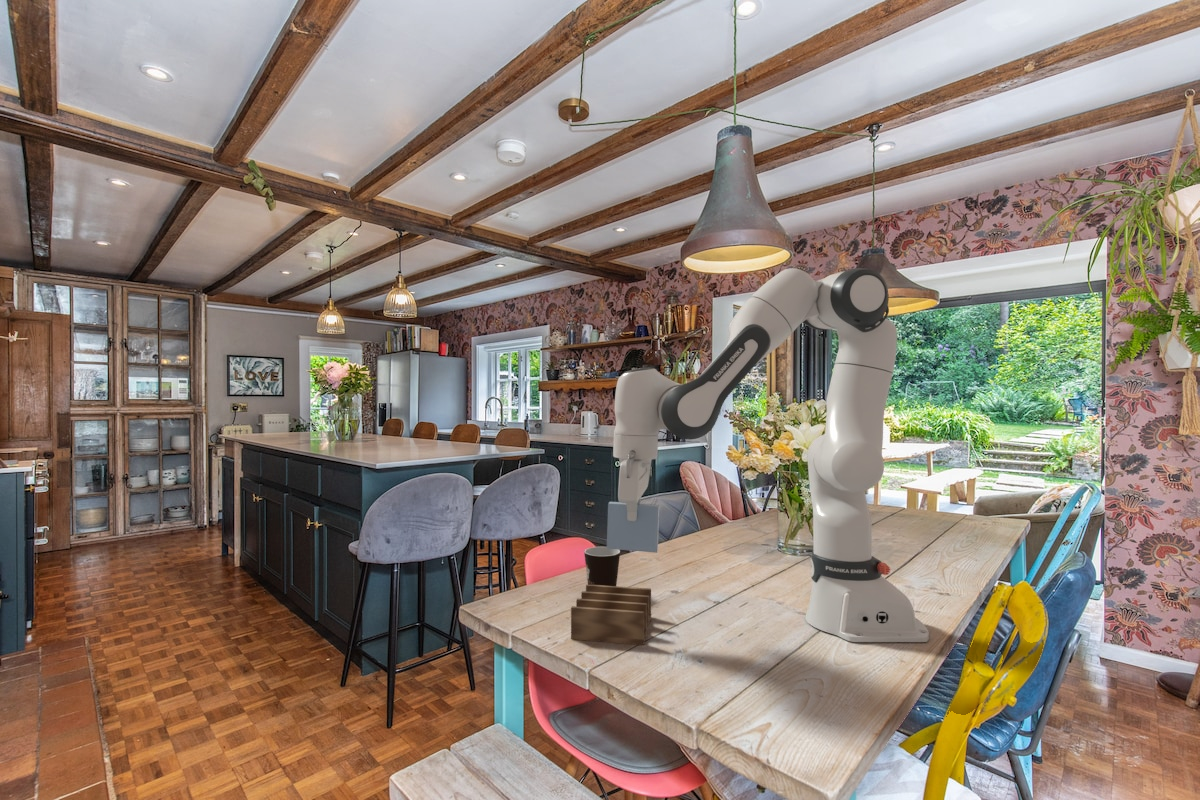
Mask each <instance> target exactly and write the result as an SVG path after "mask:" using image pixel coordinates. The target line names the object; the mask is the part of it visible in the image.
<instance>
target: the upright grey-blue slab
mask: <svg viewBox="0 0 1200 800" xmlns="http://www.w3.org/2000/svg"><path fill="white" fill-rule="evenodd" d="M659 519H660V504H652V503H650V504H649V503H640V504H638V503H637V519H636V521H629V520H628V519H627V505H626V503H620V502H619V501H609V502H608V504H607V529H606V530H607V531H606V547H607V549H618V550H620V551H631V552H632V551H633V552H645V553H658V551H659V524H660V521H659Z"/></svg>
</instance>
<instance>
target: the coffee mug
mask: <svg viewBox="0 0 1200 800" xmlns="http://www.w3.org/2000/svg"><path fill="white" fill-rule="evenodd" d="M583 551H584V562H585V568H586V570H585V571H586V579H587V584H588V585H604V586H617V583H618V573H619V565H620V556H621V550H618V549H607V546H593V547H588V548H586V549H585V550H583Z"/></svg>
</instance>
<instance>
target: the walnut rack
mask: <svg viewBox="0 0 1200 800" xmlns="http://www.w3.org/2000/svg"><path fill="white" fill-rule="evenodd" d="M580 594H581V598H576V601H575V602H576V606H571V607H570V639H571V640H577V639H578V640H580V641H589V640H590V641H591V642H603V643H604V642H605V643H613V644H614V643H616V644H625V645H626V644H627V645H638V646H644V645H645V642H646V641H645V640H646V637H647V633H648V630H649V626H650V622H651V618H652V588H649V587H647V588H645V587H631V586H630V587H629V586H618V585H616V586H604V585H588V583H587V584H586V585H585V591H584V590H582V591H581V593H580Z"/></svg>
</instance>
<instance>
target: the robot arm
mask: <svg viewBox="0 0 1200 800" xmlns="http://www.w3.org/2000/svg"><path fill="white" fill-rule="evenodd" d="M889 297H890V296H889V289H888V285H887V282H886V280H885V279H884V277H883V275H882V274H880V273H879V272H877V271H875V270H873V269H870V268H863V267H862V268H861V267H856V268H850V269H847V270H845V271H839V272H835V273H833V274H830V275H828V276H826V277H824V278H821V279H818V280H816V279H814V278H813V277H812V276H811V275H810V274H809V273H807V272H806V271H804V270H802V269H799V268H795V267H792V268H791V267H789V268H785V269H783V270H781V271H779V272H778V273H777V274H775V275H774V276H773V277H771V278H770V279H769V280H767V281H766V282H765V283H764V284H762V285H761V286H760V287H759V288H758V289H757V290H756V291H755V292H754V293H752V295H751V296H750V297H749V298H748V299H747V300H746V301H744V303H743V305H741V306H740V308H739V309H738V310H737V312H736V313H735V314H734V316H733V317H732V320H731V321H730V322H729V325H728V335H729V337H728V341H727V344H725V347H723V349H722V350H721V351H720V352H719V354H718V355H717V356H716V357H715V358H714V359H713V360H712V361H711V362H710V364H709V365H708V366H706V368H705V369H704V370H703V371H702V373H701V374H699V376H697V377H696V378H694V379H692V380H691V381H689V382H686V383H684V384H682V383H679V382H676V381H674V380H672V379H670V378H668V377H667V376H665V375H663V374H662V373H660V372H659V371H658V370H657V369H656V368H654V367H640V368H634V369H630V370H627V371H624V372H623V373H622V374H621V375H620V376H619V377H618V379H617V382H616V386H615V387H616V388H615V394H614V395H615V396H614V416H615V427H614V430H613V443H612V446H613V447H612V448H613V449H612V450H613V452H612V457H613V458H616V459H618V460H619V461H618V465H619V466H620V467H619V473H618V474H619V475H618V489H617V490H618V491H617V498H618V502H620V503H626V505H627V519H628V520H629V521H636V519H637V503H638V504H641V501H642V496H643V495H644V493H645V492H646V490H647V489H648V486H649V483H650V474H651V468H652V467H651V466H652V460H657V459H658V453H659V451H658V448H659V447H658V446H659V445H658V444H659V441H658V440H659V431H661V430H666V431H669V432H670V433H671V434H672V435H674V436H676V437H677V438H679V439H683V440H696V439H699V438H702V437H704V436H705V435H707V434H708V433H709V432H710V431H712V430H713V428H714V426H715V425H716V423H717V421H718V418H719V415H720V413H721V409H722V406H723V404H724V403H725V401H726V399H728V397H729V395H730V394H731V393H732V392H733V391H734V390H735V388H736V387H737V386H739V384H740V383H741V382H742V381H743V380H744V379H745V377H746V376H747V375H748V374H749V372H751V370H752V369H753V368H754V367H755V366H756V365H757V364H758V363H759V362H760V361H763V359H764V358H765V357H768V355H770V354H771V353H772V352H773V351H775V350H776V349H778V348H779V347H780V346H781V345H782V344H783V343H784V342H785V341H786V340H787V339H788V338H789V337H790V336H791V334H793V333H794V332H795V331H796V329H797V328H798V327H799V326H800V325H801V324H804V325H805V326H807V327H809V328H811V329H813V330H818V331H828V330H835V331H836V334H837V337H838V350H837V354H836V357H835V360H834V365H833V369H832V374H831V378H830V383H829V386H828V391H827V395H826V400H825V403H826V416H825V418H826V420H825V429H824V434H821V435H820V436H818V437H816V438H815V439H813V441H812V442H810V443H811V444H809V446H808V449H807V453H806V459H807V460H806V461H807V468H808V481H809V482H808V484H809V491H810V492H809V493H810V499H811V500H810V501H811V505H812V521H813V524H812V525H813V526H812V527H813V530H812V531H813V534H812V536H813V537H812V538H813V540H812V541H813V545H812V546H813V549H812V551H811V555H810V577H811V580H812V581H811V591H810V596H809V600H808V601H809V602H808V605H807V610H806V614H805V616H804V617H805V618H804V619H805V621H806V622H807V624H809V625H811V626H812V627H814V628H815V629H817V630H820V631H822V632H826V633H829V634H832V635H835V636H837V637H840V638H841V639H843V640H845V641H847V642H852V643H926V642H927V643H928V641H929V639H930V634H929V633H930V632H929V630H928V627H927V626H926V625H925V624H924V623H923V622H922V621H920V620H919V619H918V618H917V617H916V614H915V610H914V606H913V604H912V602H911V600H910V599H909V598H908V597H907V595H906V594H904V593H903V592H902V591H901V590H900V589H899V588H897V587H896V586H895V585H894V584H893V583H891V582H890V581H889V580H888V579H886V578H885V577H884V576H888V575H889V573H890V574H891V567H890V566H889V565H888V564H887V563H885V562H883V561H881V560H880V559H878V558H877V557H875V556H874V555H873V553H872V551H873V550H872V543H873V542H872V540H873V539H872V537H873V536H872V527H873V526H872V515H871V514H870V510H869V506H868V500H867V496H866V491H867V490H870V489H872V488H873V487H874V486H876V485H877V484H878V483H879V482H880V481H881V479H882V477H883V475H884V471H885V470H884V469H885V462H884V459H883V445H884V444H883V443H884V440H883V439H884V418H885V410H886V404H887V400H888V396H889V391H890V387H891V383H892V378H893V374H894V369H895V364H896V358H897V357H896V356H897V348H898V347H897V345H898V331H897V328H896V325H895V324H894V323H893V322H892V321H891V320H889V319H888V316H889V314H890V313H889V312H890V308H889V300H890V299H889ZM883 575H884V576H883Z"/></svg>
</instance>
